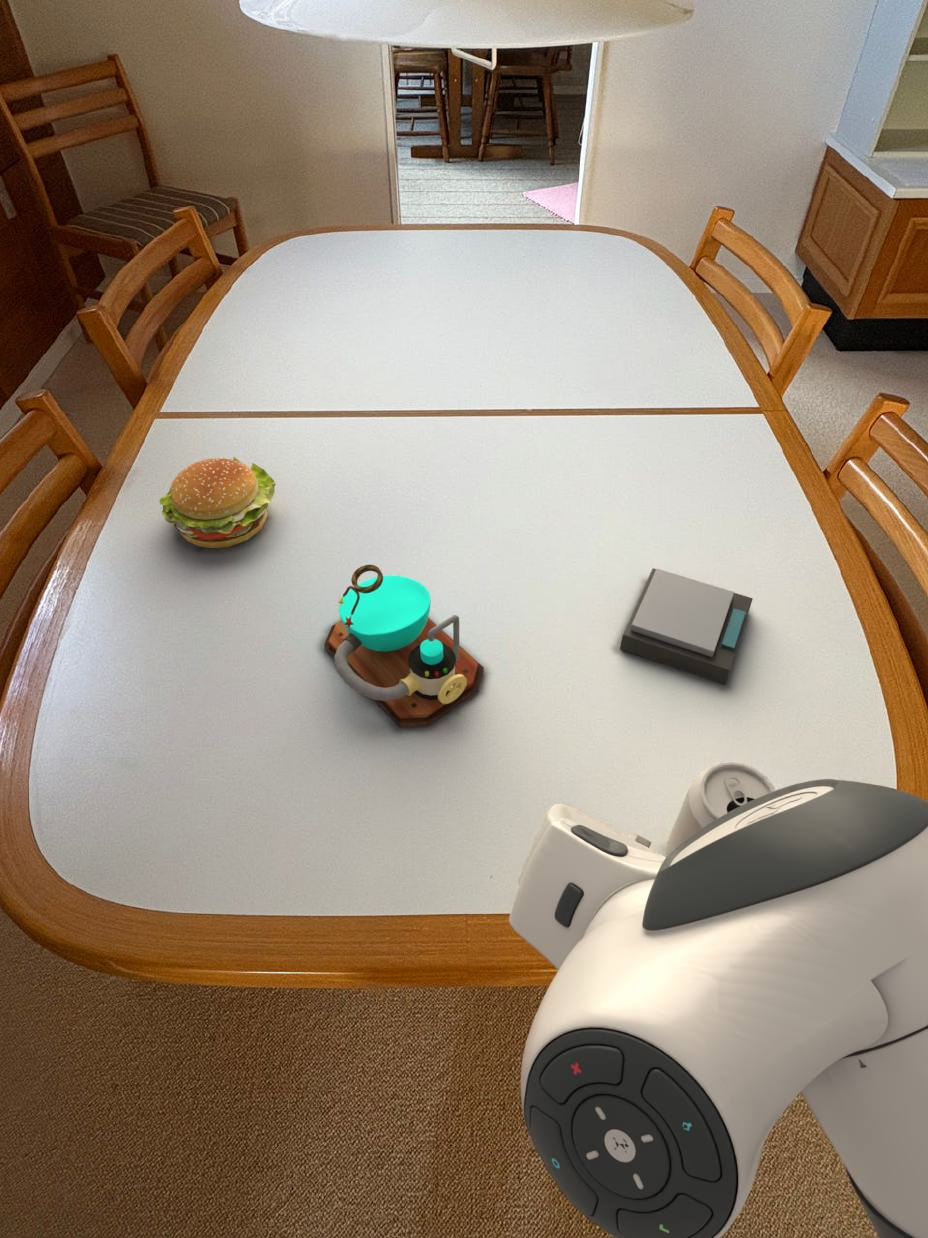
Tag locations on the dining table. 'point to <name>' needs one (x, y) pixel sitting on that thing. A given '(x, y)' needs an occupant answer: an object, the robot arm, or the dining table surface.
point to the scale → (687, 625)
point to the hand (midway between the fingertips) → (703, 882)
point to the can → (716, 797)
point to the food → (218, 502)
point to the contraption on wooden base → (400, 650)
